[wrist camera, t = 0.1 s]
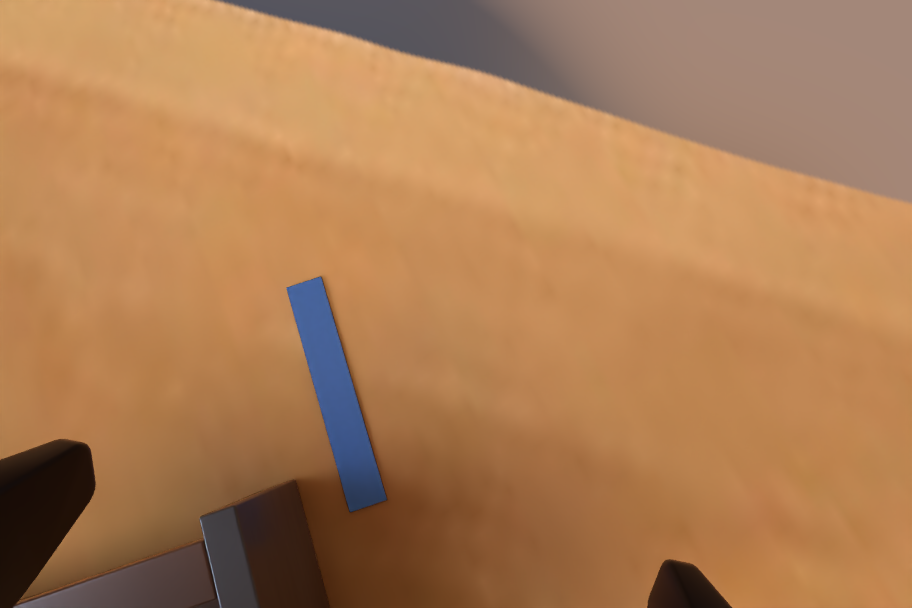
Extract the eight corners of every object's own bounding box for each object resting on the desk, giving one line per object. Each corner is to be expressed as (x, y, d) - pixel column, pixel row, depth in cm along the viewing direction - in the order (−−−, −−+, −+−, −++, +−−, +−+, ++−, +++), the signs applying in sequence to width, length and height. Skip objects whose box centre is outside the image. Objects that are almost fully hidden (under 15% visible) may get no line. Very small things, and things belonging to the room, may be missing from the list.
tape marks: (387, 499, 23) (386, 499, 23) (-201, 701, 22) (-204, 702, 22) (321, 276, 24) (320, 276, 24) (-224, 456, 24) (-227, 457, 24)
